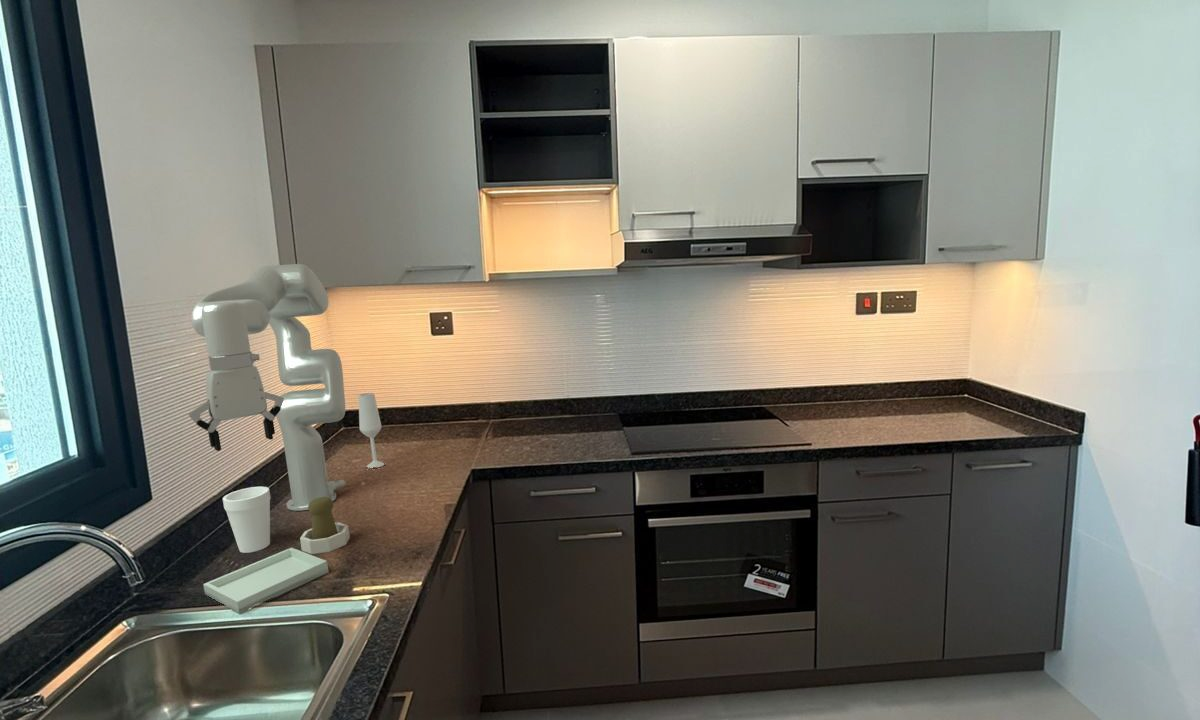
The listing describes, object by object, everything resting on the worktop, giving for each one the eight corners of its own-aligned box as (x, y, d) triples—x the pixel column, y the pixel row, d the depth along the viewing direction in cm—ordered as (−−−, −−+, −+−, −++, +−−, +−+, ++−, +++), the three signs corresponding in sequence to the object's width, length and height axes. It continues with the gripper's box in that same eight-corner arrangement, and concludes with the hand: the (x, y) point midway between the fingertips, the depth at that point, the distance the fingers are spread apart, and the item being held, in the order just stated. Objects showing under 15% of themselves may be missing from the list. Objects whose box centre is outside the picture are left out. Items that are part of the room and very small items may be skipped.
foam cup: (284, 536, 151) (276, 485, 149) (265, 553, 142) (256, 499, 140) (244, 539, 151) (236, 488, 149) (223, 557, 142) (213, 502, 140)
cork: (312, 542, 146) (305, 497, 145) (340, 536, 149) (333, 492, 147) (311, 552, 141) (304, 505, 139) (340, 545, 143) (334, 500, 142)
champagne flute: (383, 468, 200) (373, 395, 197) (361, 470, 200) (352, 397, 197) (388, 462, 207) (379, 391, 204) (368, 463, 207) (359, 393, 203)
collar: (333, 532, 151) (331, 520, 151) (356, 539, 146) (355, 527, 145) (295, 548, 144) (293, 535, 143) (318, 556, 138) (316, 544, 138)
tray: (292, 558, 138) (291, 547, 138) (328, 572, 130) (327, 561, 130) (205, 595, 124) (203, 584, 124) (239, 614, 116) (237, 601, 115)
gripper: (272, 355, 136) (283, 431, 138) (178, 368, 124) (192, 451, 127) (282, 357, 130) (293, 437, 133) (184, 371, 119) (199, 457, 121)
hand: (244, 443), depth 130 cm, fingers open, 9 cm apart
